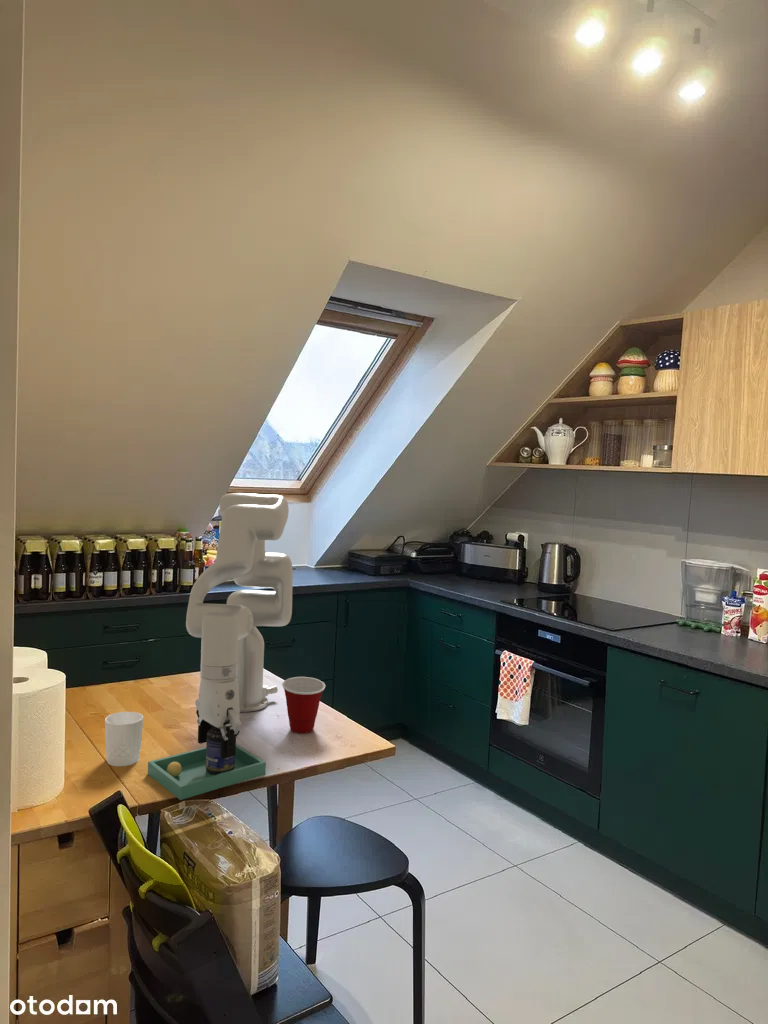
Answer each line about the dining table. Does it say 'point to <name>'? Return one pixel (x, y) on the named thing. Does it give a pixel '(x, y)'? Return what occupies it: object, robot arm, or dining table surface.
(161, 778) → the tray
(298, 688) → the plastic cup
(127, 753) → the white cup
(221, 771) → the pill bottle
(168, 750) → the dining table surface
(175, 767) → the ball
